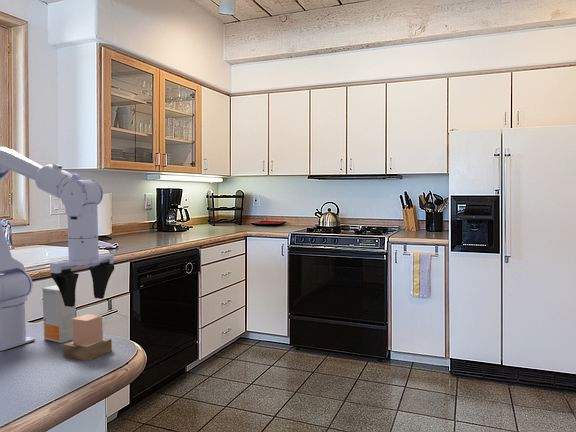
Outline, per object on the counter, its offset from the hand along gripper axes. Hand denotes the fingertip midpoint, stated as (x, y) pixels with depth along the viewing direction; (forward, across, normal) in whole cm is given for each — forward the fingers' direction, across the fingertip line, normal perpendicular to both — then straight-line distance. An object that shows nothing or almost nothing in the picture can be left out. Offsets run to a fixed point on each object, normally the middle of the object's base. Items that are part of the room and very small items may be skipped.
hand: (84, 302), depth 96 cm
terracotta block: (+8, -1, -2) cm, 8 cm away
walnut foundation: (+10, -1, -2) cm, 11 cm away
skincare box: (+11, +3, +12) cm, 16 cm away
